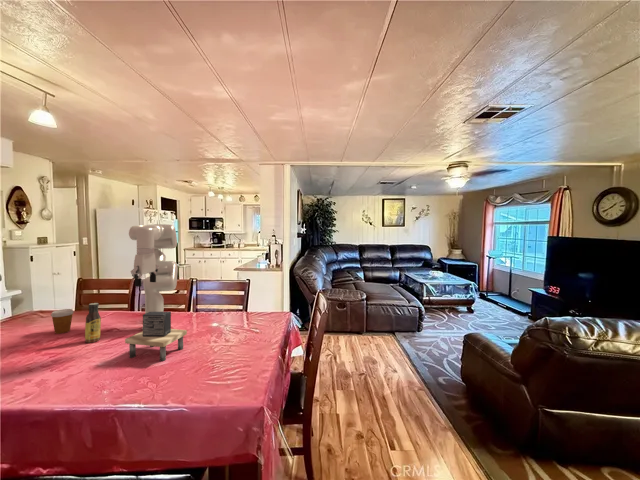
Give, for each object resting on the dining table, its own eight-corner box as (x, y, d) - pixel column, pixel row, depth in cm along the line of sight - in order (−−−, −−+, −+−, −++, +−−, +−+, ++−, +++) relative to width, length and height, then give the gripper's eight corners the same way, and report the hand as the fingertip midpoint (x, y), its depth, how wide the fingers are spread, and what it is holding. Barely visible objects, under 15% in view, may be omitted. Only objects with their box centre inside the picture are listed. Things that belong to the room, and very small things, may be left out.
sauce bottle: (91, 344, 140) (91, 305, 139) (81, 342, 141) (81, 305, 141) (103, 339, 146) (103, 302, 146) (94, 338, 148) (94, 301, 147)
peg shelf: (152, 344, 141) (152, 327, 141) (186, 347, 138) (186, 330, 137) (125, 358, 125) (125, 339, 125) (163, 362, 122) (163, 342, 122)
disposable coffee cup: (47, 333, 153) (47, 312, 153) (68, 327, 162) (68, 307, 161) (56, 336, 149) (56, 314, 149) (77, 330, 158) (77, 309, 158)
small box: (171, 331, 135) (171, 311, 135) (164, 336, 128) (164, 315, 128) (150, 331, 134) (150, 310, 134) (142, 336, 128) (142, 314, 128)
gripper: (151, 249, 148) (151, 280, 149) (124, 252, 131) (125, 287, 132) (164, 250, 147) (164, 281, 148) (138, 253, 130) (138, 288, 131)
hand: (145, 284), depth 140 cm, fingers open, 9 cm apart
